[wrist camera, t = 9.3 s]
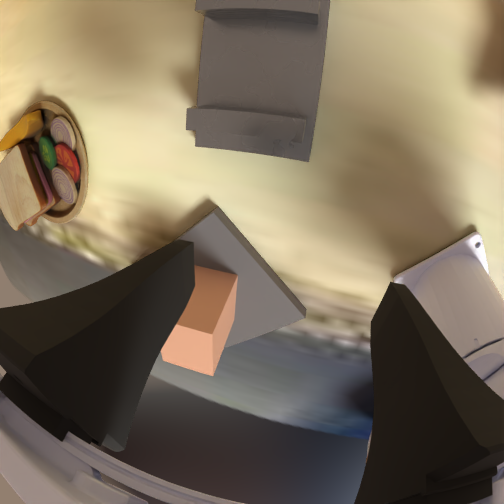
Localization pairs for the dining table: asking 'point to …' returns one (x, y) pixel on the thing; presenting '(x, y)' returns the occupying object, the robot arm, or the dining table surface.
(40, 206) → the toy sandwich meal
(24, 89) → the dining table surface
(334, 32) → the dining table surface
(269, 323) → the mat
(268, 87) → the vise
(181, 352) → the block
